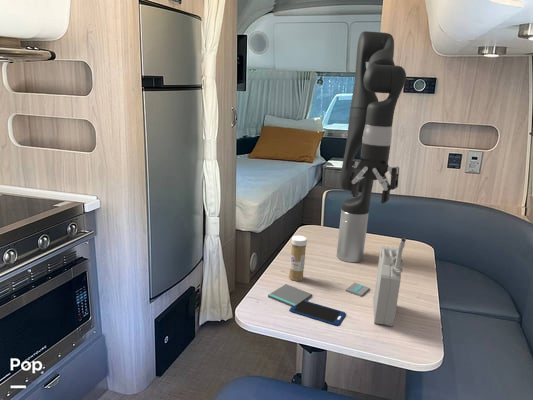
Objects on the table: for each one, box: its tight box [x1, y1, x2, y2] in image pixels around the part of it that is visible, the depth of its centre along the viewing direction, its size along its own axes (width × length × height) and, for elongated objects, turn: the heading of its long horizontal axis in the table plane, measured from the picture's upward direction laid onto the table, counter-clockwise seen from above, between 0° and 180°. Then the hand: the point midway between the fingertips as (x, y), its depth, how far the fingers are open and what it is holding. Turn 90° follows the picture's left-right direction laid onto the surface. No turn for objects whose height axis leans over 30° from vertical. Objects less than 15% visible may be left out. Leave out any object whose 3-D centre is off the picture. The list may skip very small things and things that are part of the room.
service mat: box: [267, 283, 313, 308], centre depth 124 cm, size 9×9×1 cm
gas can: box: [372, 237, 407, 327], centre depth 113 cm, size 15×5×25 cm, turn 168°
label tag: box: [345, 282, 371, 297], centre depth 130 cm, size 6×5×1 cm
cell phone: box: [288, 300, 347, 327], centre depth 116 cm, size 7×14×1 cm, turn 63°
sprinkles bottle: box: [288, 235, 308, 282], centre depth 133 cm, size 5×5×13 cm
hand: (369, 199), depth 122 cm, fingers open, 8 cm apart
